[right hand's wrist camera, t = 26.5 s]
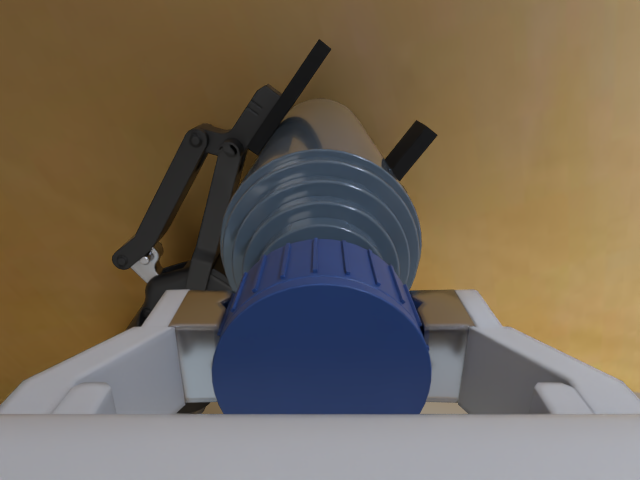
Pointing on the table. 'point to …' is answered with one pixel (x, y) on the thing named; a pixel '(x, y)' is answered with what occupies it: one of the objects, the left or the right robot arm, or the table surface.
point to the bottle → (320, 195)
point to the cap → (321, 336)
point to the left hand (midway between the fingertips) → (376, 88)
